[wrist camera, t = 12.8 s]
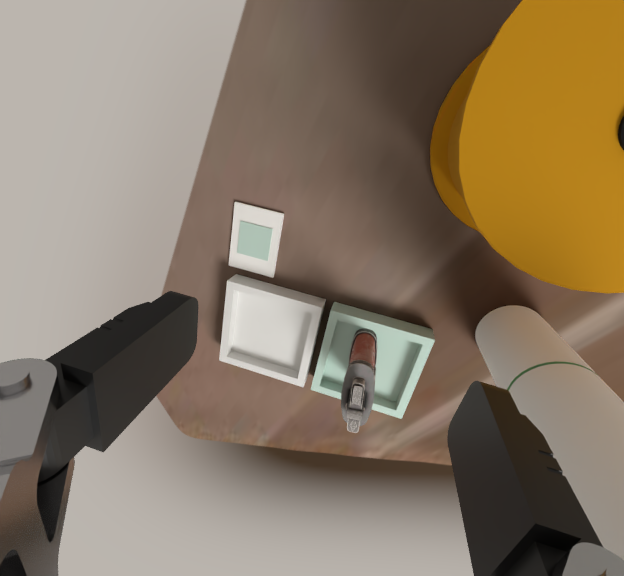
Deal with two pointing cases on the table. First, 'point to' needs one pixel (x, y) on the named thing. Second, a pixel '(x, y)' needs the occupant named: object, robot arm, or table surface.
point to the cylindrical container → (563, 410)
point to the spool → (542, 143)
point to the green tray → (390, 356)
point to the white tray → (270, 329)
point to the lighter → (359, 380)
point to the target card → (255, 239)
